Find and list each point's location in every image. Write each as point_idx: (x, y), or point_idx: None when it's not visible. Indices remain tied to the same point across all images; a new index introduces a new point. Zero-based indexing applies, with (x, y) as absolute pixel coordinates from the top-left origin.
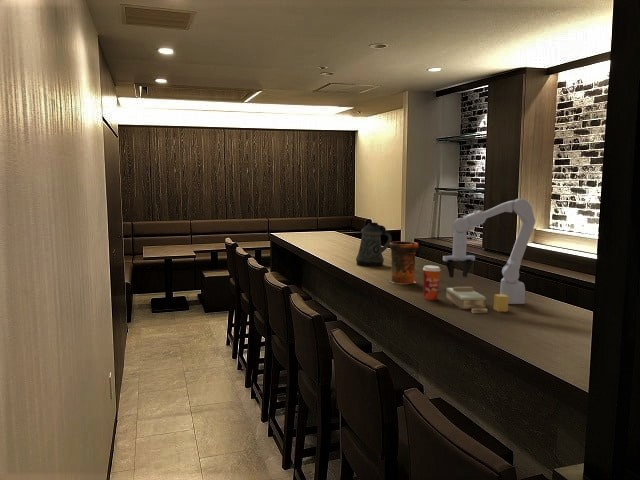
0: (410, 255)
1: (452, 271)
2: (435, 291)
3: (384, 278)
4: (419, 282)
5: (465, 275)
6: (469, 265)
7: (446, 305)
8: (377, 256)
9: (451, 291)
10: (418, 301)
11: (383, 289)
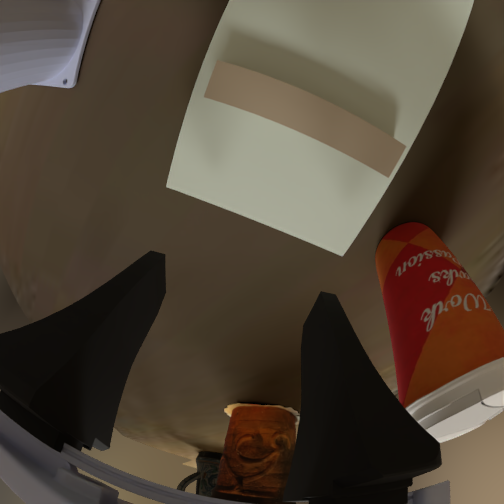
0: (254, 489)
1: (355, 349)
2: (436, 247)
3: None
4: (219, 401)
5: (156, 263)
6: (47, 338)
7: (458, 99)
8: (214, 469)
9: (400, 160)
10: (486, 237)
11: (397, 388)
